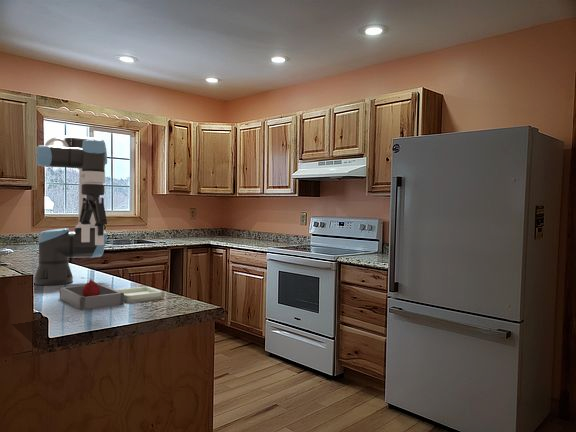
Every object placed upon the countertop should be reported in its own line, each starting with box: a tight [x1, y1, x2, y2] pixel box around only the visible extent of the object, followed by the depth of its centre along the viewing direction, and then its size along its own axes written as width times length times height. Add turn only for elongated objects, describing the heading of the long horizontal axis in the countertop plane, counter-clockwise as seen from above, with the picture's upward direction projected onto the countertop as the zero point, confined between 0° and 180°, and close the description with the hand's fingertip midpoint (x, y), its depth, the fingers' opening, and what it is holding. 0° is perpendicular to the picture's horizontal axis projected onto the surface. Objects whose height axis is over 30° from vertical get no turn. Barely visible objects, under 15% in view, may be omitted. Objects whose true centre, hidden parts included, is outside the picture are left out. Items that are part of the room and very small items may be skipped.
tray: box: [116, 285, 165, 304], centre depth 168 cm, size 14×14×2 cm
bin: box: [59, 283, 125, 311], centre depth 159 cm, size 22×14×4 cm, turn 43°
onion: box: [82, 278, 100, 297], centre depth 159 cm, size 6×6×8 cm
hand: (92, 243), depth 159 cm, fingers open, 13 cm apart
